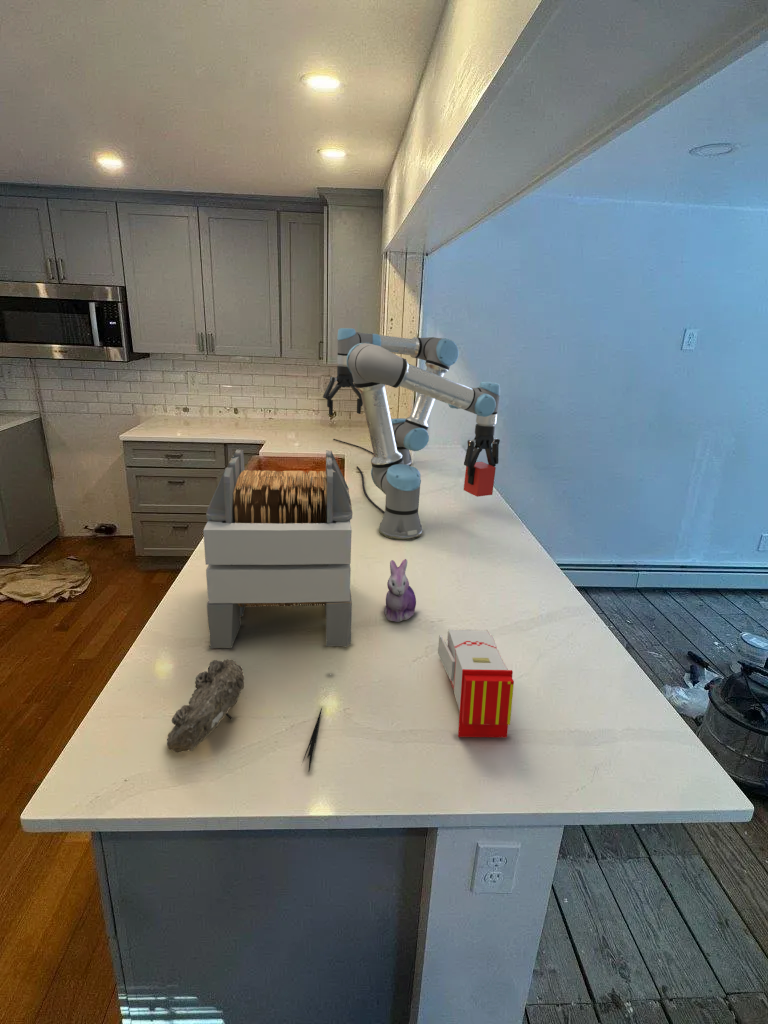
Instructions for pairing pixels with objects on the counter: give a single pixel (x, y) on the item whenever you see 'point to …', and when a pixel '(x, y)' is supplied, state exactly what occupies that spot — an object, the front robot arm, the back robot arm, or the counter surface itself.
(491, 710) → the toy
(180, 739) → the fossil
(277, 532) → the record crate
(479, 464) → the brick
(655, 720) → the counter surface
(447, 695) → the counter surface
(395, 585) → the figurine
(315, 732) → the feather
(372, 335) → the back robot arm
